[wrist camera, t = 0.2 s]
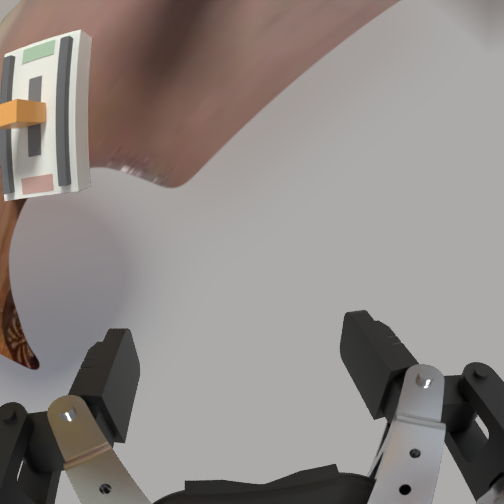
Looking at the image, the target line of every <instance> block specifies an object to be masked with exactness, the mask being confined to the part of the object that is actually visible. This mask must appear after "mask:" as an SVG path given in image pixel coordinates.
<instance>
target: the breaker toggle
mask: <svg viewBox="0 0 504 504" xmlns="http://www.w3.org/2000/svg"><path fill="white" fill-rule="evenodd" d="M45 122H46V103H43V102H37V101H29V100H22V99H15V100H12V101H9V102H6V103H3V104H0V129H18V128H24V127H28V126H32V125H36V124H41V123H45Z"/></svg>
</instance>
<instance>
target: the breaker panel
mask: <svg viewBox="0 0 504 504" xmlns="http://www.w3.org/2000/svg"><path fill="white" fill-rule="evenodd" d="M66 36H71V37H72V38H73V47H72V57H71V69H70V86H69V154H70V172H71V184H70V185H67V186H58V174H57V158H56V84H57V69H58V58H59V48H60V40H61V38H63V37H66ZM91 46H92V38H91V37H90V36H89V35H88V34H86V33H85V32H84V31H82V30H77V31H73V32H69V33H66V34H62V35H59V36H55V37H52V38H49V39H46V40H43V41H40V42H37V43H34V44H31V45H28V46H25V47H23V48H20V49H17V50H15V51H12V52H10V53H7V54H5V57H7V56H10V55H12V56H15V65H14V75H13V88H12V100H15V99H22V100H29V101H37V102H43V103H46V122H45V123H41V124H36V125H32V126H28V127H24V128H18V129H11V142H12V164H13V177H14V187H15V192H13V193H10V194H4V199H5V201H9V200H15V199H22V198H29V197H37V196H45V195H53V194H60V193H70V192H79V191H81V190H83V189H86V188H88V187H90V186H91V182H90V166H89V143H88V94H89V72H90V58H91Z"/></svg>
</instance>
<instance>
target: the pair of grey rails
mask: <svg viewBox="0 0 504 504" xmlns="http://www.w3.org/2000/svg"><path fill="white" fill-rule="evenodd" d="M72 47H73V38H72V37H71V36H66V37H63V38H61V40H60V48H59V58H58V69H57V84H56V158H57V174H58V186H67V185H70V184H71V172H70V154H69V86H70V69H71V57H72ZM14 65H15V56H12V55H10V56H7V57H5V58H4V62H3V71H2V81H1V95H0V104H3V103H6V102H9V101H12V88H13V75H14ZM0 160H1V174H2V185H3V194H10V193H13V192H15V187H14V177H13V164H12V142H11V129H0Z"/></svg>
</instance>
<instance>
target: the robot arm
mask: <svg viewBox="0 0 504 504" xmlns="http://www.w3.org/2000/svg"><path fill="white" fill-rule="evenodd" d="M340 354H341V358H342V361H343V363H344V364H345V366H346V368H347V370H348V372H349V374H350V376H351V377H352V379H353V381H354V383H355V385H356V387H357V389H358V390H359V392H360V394H361V396H362V398H363V400H364V402H365V404H366V406H367V408H368V409H369V411H370V413H371V415H372V417H373V419H374V420H375V419H379V418H382V417H386V419H387V423H386V426H385V429H384V432H383V435H382V438H381V441H380V444H379V447H378V449H377V452H376V455H375V458H374V460H373V463H372V465H371V468H370V470H369V472H368V474H367V476H363V475H359V474H353V473H339V472H338V469H337V466H336V464H332V465H328V466H324V467H318V468H313V469H309V470H303V471H299V472H297V473H294V474H291V475H289V476H286V477H283V478H281V479H278V480H275V481H272V482H270V483H267V484H250V483H242V482H233V481H227V480H205V481H185V490H182V491H178V492H175V493H172V494H169V495H167V496H165V497H163V498H161V499H159V500H157V501H156V502H154V503H153V504H432V500H433V496H434V492H435V488H436V483H437V478H438V474H439V469H440V463H441V458H442V451H443V445H444V442H445V444H446V446H447V447H448V449H449V451H450V453H451V454H452V456H453V458H454V460H455V462H456V463H457V466H458V467H459V469H460V471H461V473H462V474H463V477H464V479H465V481H466V483H467V485H468V487H469V488H470V490H471V492H472V494H473V496H474V498H475V500H476V504H504V382H503V381H502V379H501V378H500V377H499V376H498V375H497V374H496V372H495V371H494V370H493V369H492V368H490V367H489V366H488V365H486V364H483V363H479V362H473V363H470V364H468V365H466V367H465V368H464V370H463V373H462V375H454V376H443V374H442V373H441V372H440V371H439V370H438V369H437V368H435V367H433V366H430V365H426V364H419V363H418V362H417V360H416V359H415V358H414V357H413V356H412V354H411V353H410V352H409V351H408V349H407V348H406V347H405V346H404V344H403V343H401V341H400V340H399V339H398V337H397V336H395V334H394V332H393V331H392V330H391V329H390V328H389V327H388V326H387V325H385V324H383V323H382V322H380V321H374V320H373V318H372V317H371V316H370V315H369V314H368V312H367V311H366V310H361V311H354V312H347V313H346V314H345V316H344V321H343V329H342V335H341V342H340ZM139 377H140V364H139V359H138V356H137V353H136V349H135V345H134V342H133V338H132V334H131V332H130V330H129V329H109V330H108V332H107V334H106V336H105V338H104V340H103V342H97V343H96V344H95V345H94V346H93V347H91V348H90V349H89V350H88V352H87V355H86V357H85V359H84V361H83V363H82V365H81V369H79V372H78V374H77V376H76V378H75V380H74V383H73V385H72V387H71V389H70V392H69V394H68V395H66V396H62V397H60V398H58V399H56V400H55V401H53V402H52V403H51V405H50V406H49V408H48V411H44V412H37V413H27V411H26V410H25V408H24V407H23V406H22V405H21V404H19V403H16V402H10V403H6V404H4V405H2V406H1V407H0V504H54V503H55V498H56V493H57V488H58V483H59V478H60V474H61V471H62V470H65V471H66V474H67V475H68V477H69V480H70V482H71V484H72V486H73V488H74V490H75V492H76V494H77V496H78V498H79V500H80V501H81V503H82V504H152V503H151V502H150V501H149V500H148V498H147V497H146V496H145V495H144V493H143V492H142V491H141V489H140V488H139V487H138V485H137V484H136V483H135V481H134V480H133V478H132V477H131V476H130V474H129V473H128V471H127V470H126V468H125V467H124V466H123V464H122V463H121V461H120V460H119V458H118V457H117V455H116V454H115V452H114V450H113V445H114V442H118V443H125V440H126V435H127V430H128V426H129V420H130V416H131V411H132V407H133V402H134V398H135V394H136V390H137V385H138V381H139ZM477 415H479V417H480V418H481V420H482V421H483V423H484V424H485V426H486V427H487V429H488V432H489V439H487V438H486V436H485V435H484V433H483V431H482V430H481V428H480V427H479V426H478V424H477V423H476V421H475V419H476V417H477ZM22 461H23V465H22V468H21V471H20V474H19V478H18V481H17V475H18V472H19V468H20V465H21V462H22Z"/></svg>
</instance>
